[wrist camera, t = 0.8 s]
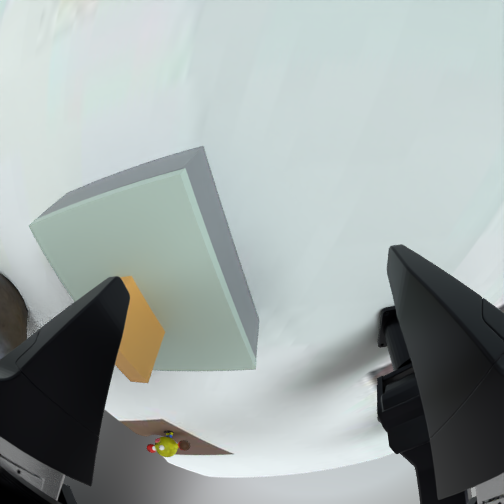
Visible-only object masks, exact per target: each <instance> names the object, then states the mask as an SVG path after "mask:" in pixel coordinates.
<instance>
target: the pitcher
mask: <svg viewBox="0 0 504 504" xmlns="http://www.w3.org/2000/svg"><path fill="white" fill-rule="evenodd" d="M27 315H28V313H27V310H26V306H25V303H24V300H23V298H22V297H21V295H20V294H19V292H18V290H17V289H16V288H15V286H14V285H13V284H12V283H11V282H10V281H9V280H8V279H6V278H5V277H4V276H3V275H1V274H0V359H2V358H3V357H4V356H6V355H7V354H8V353H10V352H11V351H12V350H14V349H15V348H16V347H17V346H19V345H20V344H21V343H23V342H24V341H25V340H27Z"/></svg>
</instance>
